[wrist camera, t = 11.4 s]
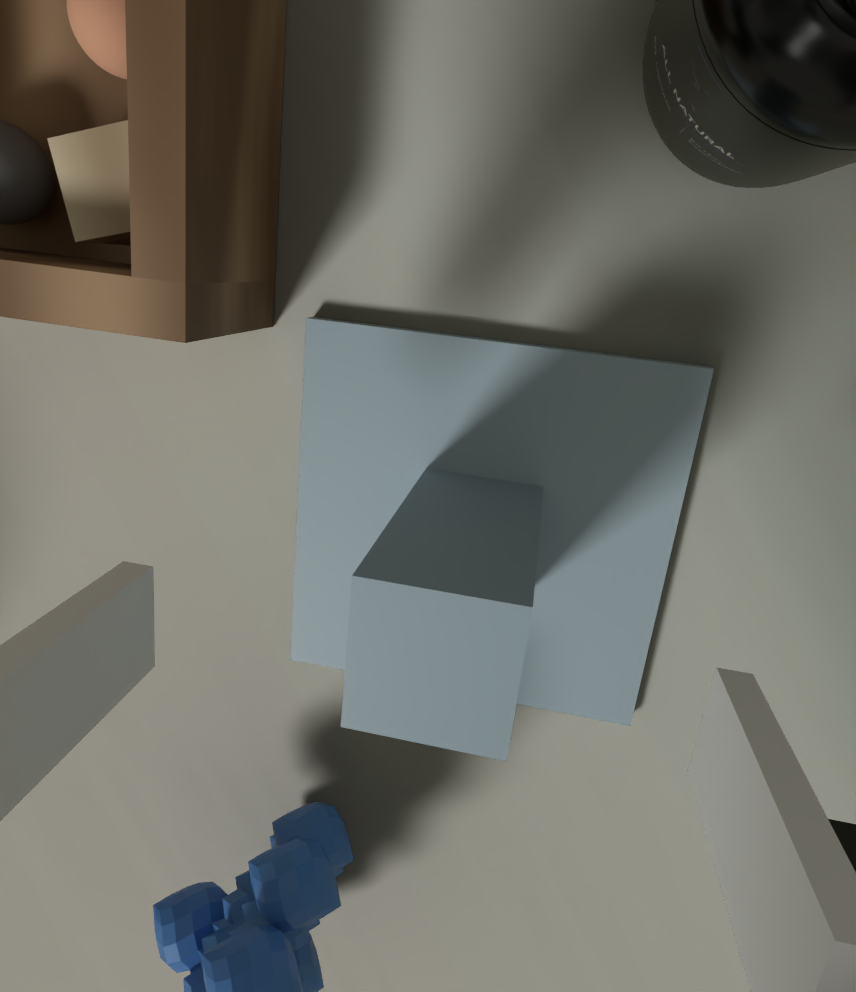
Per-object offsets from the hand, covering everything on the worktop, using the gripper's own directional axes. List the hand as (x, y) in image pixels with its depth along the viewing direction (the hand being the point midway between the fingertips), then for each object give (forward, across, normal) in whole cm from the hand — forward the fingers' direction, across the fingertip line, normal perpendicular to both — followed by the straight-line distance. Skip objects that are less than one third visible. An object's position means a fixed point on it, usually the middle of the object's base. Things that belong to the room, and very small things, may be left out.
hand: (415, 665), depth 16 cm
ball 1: (+9, -16, +10) cm, 21 cm away
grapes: (+10, -5, -15) cm, 19 cm away
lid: (+10, +1, 0) cm, 10 cm away
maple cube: (+9, -11, +10) cm, 17 cm away
